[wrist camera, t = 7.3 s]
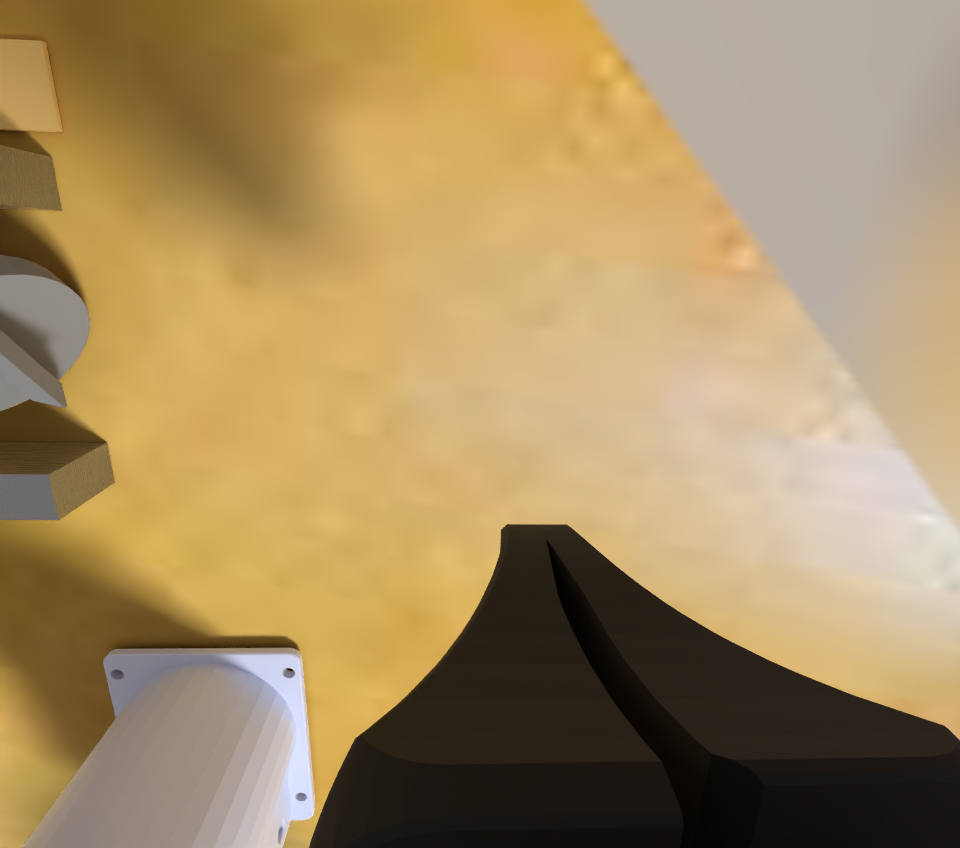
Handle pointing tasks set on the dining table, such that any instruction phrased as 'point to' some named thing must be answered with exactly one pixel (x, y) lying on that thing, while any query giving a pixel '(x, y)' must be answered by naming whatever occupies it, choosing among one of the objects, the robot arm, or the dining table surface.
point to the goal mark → (27, 88)
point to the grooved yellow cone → (37, 333)
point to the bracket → (43, 465)
